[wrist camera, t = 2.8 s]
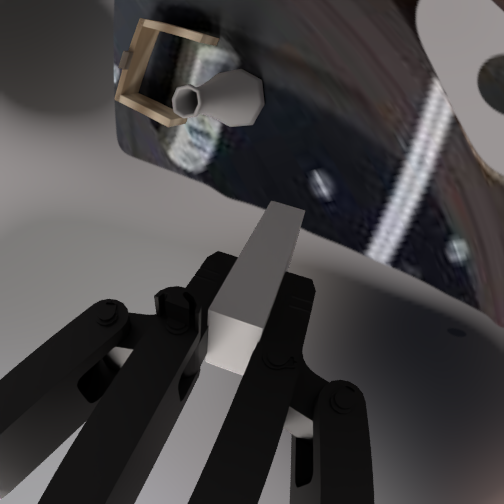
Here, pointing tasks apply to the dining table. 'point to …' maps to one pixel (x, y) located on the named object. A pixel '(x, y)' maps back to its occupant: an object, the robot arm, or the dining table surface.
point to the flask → (222, 98)
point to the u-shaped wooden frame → (136, 66)
